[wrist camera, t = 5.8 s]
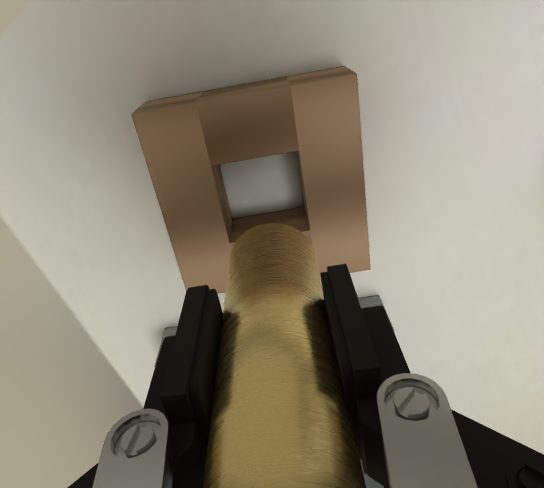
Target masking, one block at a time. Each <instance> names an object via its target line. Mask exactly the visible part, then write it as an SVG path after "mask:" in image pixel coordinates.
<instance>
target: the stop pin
mask: <svg viewBox="0 0 544 488" xmlns="http://www.w3.org/2000/svg"><path fill="white" fill-rule="evenodd" d="M203 488H366V484H365V479H364V475H363V470H362V465H361V461H360V456H359V452H358V447H357V443H356V438H355V434H354V429H353V424H352V420H351V416H350V414H349V411H348V409H347V406H346V402H345V397H344V392H343V387H342V383H341V378H340V373H339V369H338V364H337V359H336V355H335V350H334V345H333V341H332V336H331V331H330V327H329V322H328V317H327V313H326V308H325V303H324V298H323V290H322V283H321V279H320V274H319V269H318V265H317V260H316V256H315V251H314V248H313V246H312V244H311V242H310V241H309V239H308V238H307V237H306V236H305V235H304V234H303V233H302V232H300V231H299V230H297V229H296V228H294V227H291V226H289V225H285V224H280V223H266V224H261V225H258V226H255V227H253V228H251V229H249V230H247V231H246V232H244V233H243V234H242V235H241V236H240V237H239V238H238V239H237V240H236V242H235V243H234V245H233V247H232V250H231V253H230V259H229V268H228V276H227V285H226V293H225V302H224V310H223V319H222V328H221V336H220V345H219V353H218V362H217V370H216V379H215V387H214V396H213V404H212V413H211V421H210V429H209V438H208V446H207V455H206V463H205V472H204V480H203Z"/></svg>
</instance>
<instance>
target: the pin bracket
mask: <svg viewBox="0 0 544 488" xmlns="http://www.w3.org/2000/svg"><path fill="white" fill-rule="evenodd" d="M131 115H132V118H133V121H134V124H135V128H136V131H137V134H138V137H139V141H140V144H141V147H142V150H143V153H144V157H145V160H146V163H147V166H148V169H149V173H150V176H151V179H152V182H153V186H154V189H155V192H156V195H157V198H158V202H159V205H160V208H161V211H162V214H163V218H164V221H165V224H166V227H167V231H168V234H169V237H170V240H171V243H172V247H173V250H174V253H175V256H176V260H177V263H178V266H179V269H180V272H181V276H182V279H183V282H184V285H185V288H186V292H187V289H188V288H189V287H196V286H202V285H208V287H209V289H216V291H217V294H218V293H224V292H226V285H227V276H228V268H229V259H230V253H231V250H232V247H233V245H234V243H235V242H236V240H237V239H238V238H239V237H240V236H241V235H242V234H243V233H244V232H246V231H247V230H249V229H251V228H253V227H255V226H258V225H261V224H266V223H280V224H285V225H289V226H291V227H294V228H296V229H297V230H299V231H300V232H302V233H303V234H304V235H305V236H306V237H307V238H308V239H309V241H310V242H311V244H312V246H313V248H314V251H315V256H316V260H317V265H318V269H319V274H320V273H321V272H327V266H333V265H340V264H347V267H348V270H349V273H351V272H357V271H364V270H370V255H369V240H368V226H367V212H366V197H365V183H364V169H363V154H362V140H361V126H360V111H359V97H358V83H357V74H356V73H355V72H353V71H352V70H350V69H348V68H347V67H345V66H342V67H337V68H331V69H325V70H320V71H314V72H309V73H303V74H298V75H292V76H287V77H281V78H276V79H270V80H264V81H259V82H253V83H248V84H242V85H237V86H231V87H226V88H220V89H215V90H209V91H203V92H198V93H192V94H187V95H181V96H176V97H170V98H165V99H159V100H154V101H148V102H145V103H144V104H143V105H142V106H141V107H139V108H138V109H137V110H136V111H135V112H133V113H132V114H131ZM294 151H297V157H298V164H299V171H300V179H301V186H302V193H303V200H304V207H303V208H297V209H291V210H284V211H278V212H272V213H266V214H260V215H254V216H248V217H242V218H236V219H232V216H231V212H230V208H229V203H228V199H227V195H226V190H225V186H224V182H223V177H222V173H221V169H220V164H224V163H230V162H235V161H241V160H247V159H253V158H259V157H265V156H270V155H276V154H282V153H288V152H294ZM320 277H321V275H320Z"/></svg>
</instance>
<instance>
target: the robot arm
mask: <svg viewBox="0 0 544 488" xmlns="http://www.w3.org/2000/svg"><path fill="white" fill-rule="evenodd" d="M320 275H321V283H322V290H323V298H324V303H325V308H326V313H327V317H328V322H329V327H330V331H331V336H332V341H333V345H334V350H335V355H336V359H337V364H338V369H339V373H340V378H341V383H342V387H343V392H344V397H345V402H346V406H347V409H348V411H349V414H350V416H351V420H352V424H353V429H354V434H355V438H356V443H357V447H358V452H359V456H360V460H361V461H362V466H363V470H364V474H367V476H369V477H370V478H372V479H373V480H375V481H376V482H378V483H379V484H381V485H382V486H383V488H544V455H543V454H541V453H539V452H537V451H535V450H533V449H531V448H529V447H527V446H525V445H523V444H521V443H519V442H517V441H514V440H512V439H510V438H508V437H506V436H504V435H502V434H500V433H498V432H496V431H494V430H492V429H490V428H488V427H486V426H484V425H482V424H480V423H478V422H476V421H474V420H472V419H470V418H467V417H465V416H463V415H461V414H459V413H457V412H455V411H453V410H451V408H450V406H449V403H448V400H447V397H446V395H445V393H444V391H443V390H442V388H441V387H440V386H439V385H438V384H437V383H436V382H434V381H433V380H431V379H429V378H427V377H425V376H422V375H418V374H411V373H410V371H409V368H408V366H407V363H406V361H405V358H404V356H403V353H402V351H401V348H400V346H399V343H398V341H397V339H396V336H395V334H394V331H393V329H392V326H391V324H390V321H389V319H388V316H387V314H386V311H385V309H384V307H383V306H382V305H378V306H372V307H365V308H361V307H360V304H359V300H358V297H357V294H356V291H355V288H354V285H353V282H352V279H351V276H350V273H349V270H348V267H347V264H340V265H333V266H327V272H321V273H320ZM222 319H223V313H222V309H221V305H220V302H219V298H218V294H217V291H216V289H209V287H208V285H202V286H196V287H189V288H188V289H187V292H186V296H185V299H184V303H183V307H182V311H181V315H180V319H179V323H178V327H177V331H176V335H173V336H166V337H165V338H164V340H163V342H162V345H161V349H160V352H159V356H158V359H157V363H156V366H155V370H154V373H153V377H152V380H151V384H150V387H149V391H148V394H147V398H146V401H145V405H144V408H143V409H140V410H137V411H134V412H131V413H129V414H128V415H126V416H125V417H123V418H121V419H120V420H119V421H118V422H117V423H115V424H114V425H113V427H112V428H111V430H110V431H109V432H108V434H107V436H106V438H105V441H104V444H103V448H102V452H101V456H100V460H99V463H98V464H96V465H95V466H94V467H93V468H91V469H90V470H89V471H88V472H86V473H85V474H84V475H83V476H81V477H80V478H79V479H78V480H77V481H75V482H74V483H73V484H72V485H70V486H69V487H68V488H203V480H204V472H205V463H206V455H207V446H208V438H209V429H210V421H211V413H212V404H213V396H214V387H215V379H216V370H217V362H218V353H219V345H220V336H221V328H222Z"/></svg>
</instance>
